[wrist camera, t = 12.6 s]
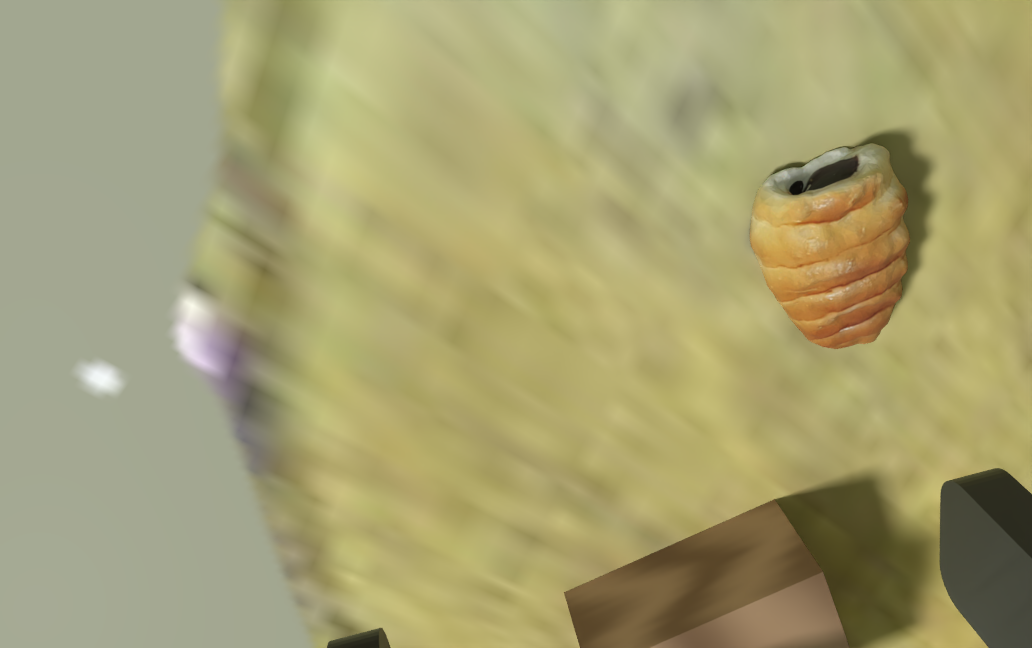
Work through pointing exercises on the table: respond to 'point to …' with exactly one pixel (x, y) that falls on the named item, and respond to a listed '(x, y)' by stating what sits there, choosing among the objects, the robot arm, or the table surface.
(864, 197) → the pastry
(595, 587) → the walnut box
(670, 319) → the table surface
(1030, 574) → the robot arm
